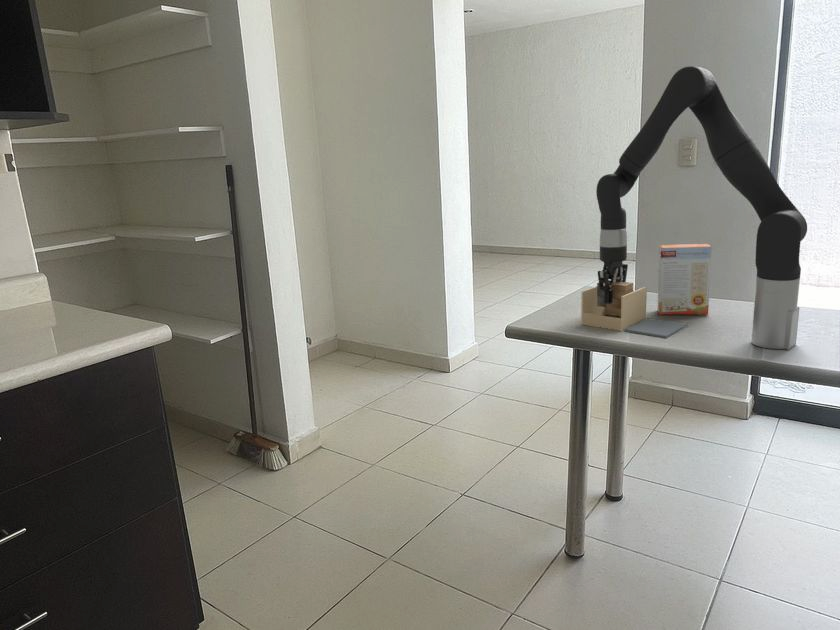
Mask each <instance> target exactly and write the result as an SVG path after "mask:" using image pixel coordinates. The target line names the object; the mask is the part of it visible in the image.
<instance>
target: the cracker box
mask: <svg viewBox="0 0 840 630" xmlns="http://www.w3.org/2000/svg"><path fill="white" fill-rule="evenodd" d="M711 264H712V246H711V245H710V244H708V243H689V244H687V243H686V244H685V243H683V244H682V243H680V244H660V245H659V246H658V277H657V278H658V279H657V280H658V281H657V282H658V283H657V312H658V315H661V316H663V315H665V316H668V315H669V316H670V315H678V316H679V315H681V316H683V315H690V316H691V315H692V316H693V315H694V316H696V315H697V316H700V315H701V316H703V315H704V316H707V315H709V308H710V307H709V306H710V304H709V302H710V286H711V285H710V284H711V283H710V282H711V269H712V268H711V267H712V265H711Z"/></svg>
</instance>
